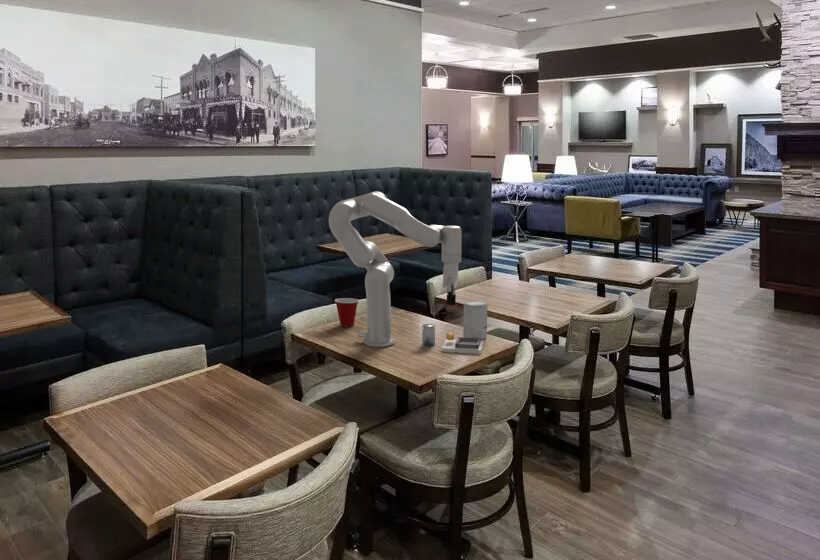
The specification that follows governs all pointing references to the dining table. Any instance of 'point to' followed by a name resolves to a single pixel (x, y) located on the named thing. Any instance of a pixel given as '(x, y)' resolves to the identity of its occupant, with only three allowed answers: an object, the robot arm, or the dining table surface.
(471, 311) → the skincare box
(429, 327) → the block
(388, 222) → the robot arm
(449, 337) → the button
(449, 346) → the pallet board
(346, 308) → the plastic cup
